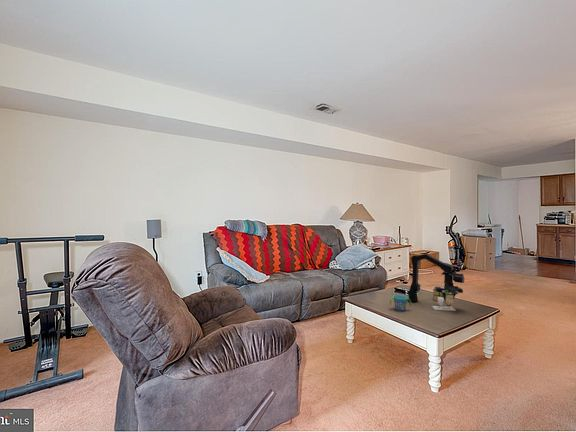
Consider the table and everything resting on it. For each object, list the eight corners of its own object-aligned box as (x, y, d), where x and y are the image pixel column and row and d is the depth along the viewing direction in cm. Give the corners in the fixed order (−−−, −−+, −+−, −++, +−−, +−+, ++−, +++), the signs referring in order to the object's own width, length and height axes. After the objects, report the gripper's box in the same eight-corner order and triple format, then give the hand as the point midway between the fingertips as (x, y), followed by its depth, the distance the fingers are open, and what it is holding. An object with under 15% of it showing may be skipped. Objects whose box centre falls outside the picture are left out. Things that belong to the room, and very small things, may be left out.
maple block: (443, 300, 220) (443, 293, 220) (450, 301, 220) (450, 293, 219) (446, 302, 216) (446, 295, 215) (453, 303, 215) (453, 295, 215)
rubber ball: (447, 305, 225) (447, 301, 225) (445, 304, 228) (445, 300, 228) (451, 306, 224) (451, 301, 224) (450, 304, 228) (450, 300, 228)
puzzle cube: (437, 297, 246) (437, 286, 246) (449, 300, 239) (449, 288, 239) (433, 300, 239) (433, 288, 239) (446, 303, 232) (446, 291, 232)
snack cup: (409, 308, 221) (409, 295, 221) (412, 312, 211) (412, 299, 211) (389, 306, 225) (389, 294, 225) (390, 311, 215) (390, 298, 215)
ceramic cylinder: (438, 305, 226) (438, 298, 226) (437, 304, 230) (437, 296, 229) (444, 305, 225) (444, 298, 225) (442, 304, 229) (442, 297, 229)
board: (434, 310, 216) (434, 308, 216) (431, 306, 223) (431, 305, 223) (455, 311, 213) (455, 309, 213) (452, 307, 221) (452, 306, 221)
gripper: (439, 283, 211) (439, 303, 211) (466, 283, 208) (466, 304, 208) (434, 279, 222) (434, 298, 222) (459, 280, 219) (459, 299, 219)
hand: (448, 300), depth 218 cm, fingers closed on maple block, 5 cm apart
